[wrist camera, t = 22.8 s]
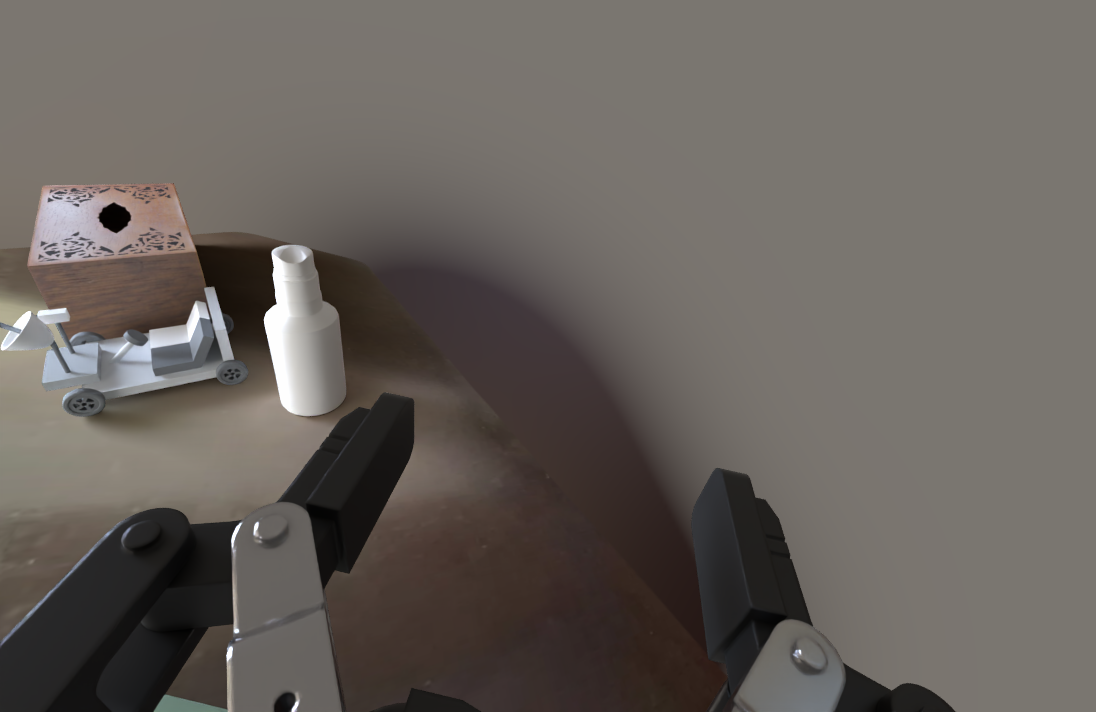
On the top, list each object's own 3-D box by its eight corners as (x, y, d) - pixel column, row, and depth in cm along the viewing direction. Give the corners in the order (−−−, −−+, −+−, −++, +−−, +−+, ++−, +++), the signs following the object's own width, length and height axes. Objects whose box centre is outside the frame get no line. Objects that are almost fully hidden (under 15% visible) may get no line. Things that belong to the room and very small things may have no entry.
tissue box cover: (72, 253, 69) (42, 185, 64) (191, 244, 78) (173, 183, 72) (67, 345, 54) (27, 266, 48) (216, 321, 62) (196, 251, 57)
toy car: (-23, 344, 39) (-2, 281, 46) (31, 428, 44) (43, 361, 51) (232, 308, 49) (217, 261, 56) (250, 381, 54) (235, 330, 61)
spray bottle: (343, 375, 58) (328, 236, 48) (350, 411, 53) (335, 266, 43) (280, 383, 55) (250, 237, 45) (281, 422, 50) (248, 269, 40)
